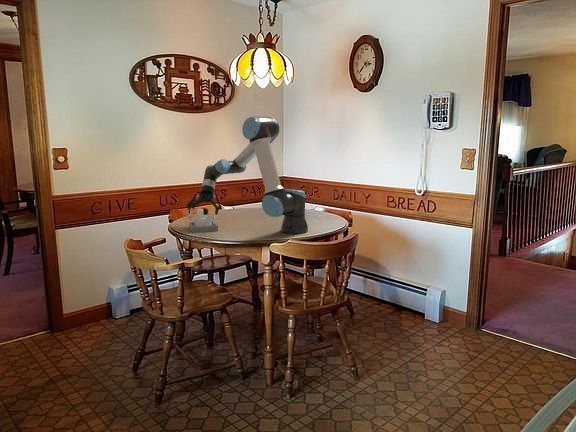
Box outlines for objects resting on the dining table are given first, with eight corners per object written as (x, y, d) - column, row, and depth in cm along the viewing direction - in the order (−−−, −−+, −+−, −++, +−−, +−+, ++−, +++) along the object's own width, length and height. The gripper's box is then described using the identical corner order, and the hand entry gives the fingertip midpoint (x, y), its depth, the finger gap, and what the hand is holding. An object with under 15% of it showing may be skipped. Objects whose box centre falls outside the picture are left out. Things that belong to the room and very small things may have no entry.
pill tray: (218, 230, 252) (217, 225, 251) (192, 232, 247) (192, 227, 246) (213, 225, 265) (213, 220, 264) (189, 227, 260) (188, 222, 259)
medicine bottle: (204, 227, 261) (203, 206, 258) (212, 229, 256) (211, 208, 254) (194, 229, 255) (193, 208, 253) (202, 231, 251) (201, 210, 248)
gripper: (229, 192, 267) (224, 222, 256) (188, 192, 270) (182, 221, 258) (227, 184, 261) (222, 215, 249) (185, 184, 263) (178, 214, 252)
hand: (201, 218), depth 254 cm, fingers open, 13 cm apart
